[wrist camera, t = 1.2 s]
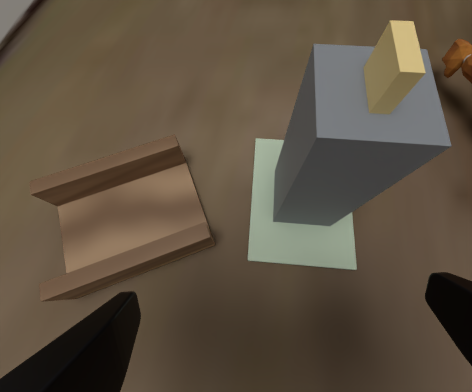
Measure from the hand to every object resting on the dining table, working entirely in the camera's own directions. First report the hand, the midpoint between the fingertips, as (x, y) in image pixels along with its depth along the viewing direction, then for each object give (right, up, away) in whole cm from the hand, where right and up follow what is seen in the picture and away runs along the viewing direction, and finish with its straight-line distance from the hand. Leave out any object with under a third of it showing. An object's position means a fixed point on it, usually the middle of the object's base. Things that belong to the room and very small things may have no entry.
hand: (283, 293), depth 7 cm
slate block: (+5, +3, +15) cm, 16 cm away
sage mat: (+5, +3, +15) cm, 16 cm away
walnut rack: (-11, +1, +15) cm, 18 cm away
